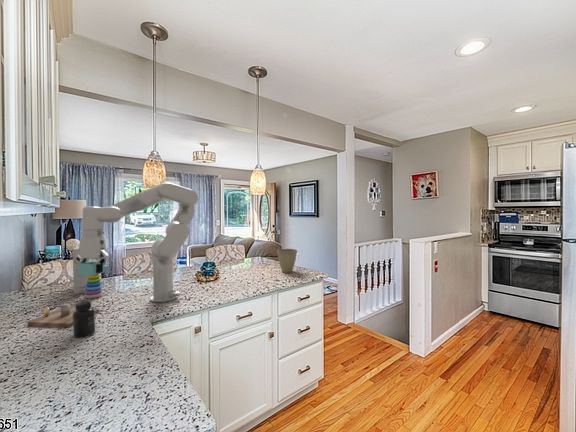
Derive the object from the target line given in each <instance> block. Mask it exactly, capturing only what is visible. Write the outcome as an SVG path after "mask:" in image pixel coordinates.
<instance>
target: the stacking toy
mask: <svg viewBox="0 0 576 432" xmlns="http://www.w3.org/2000/svg"><path fill="white" fill-rule="evenodd" d="M87 278H88V280H87V282H88V283H87V284H86V286H87V287H86V291H85V293H84V298H85V299H88V300H89V299H97V298H100V297H102V296H103V292H102V291H103V289H102V285H101V284H102V282H101V275H100V274H97V275H94V276H88V277H87Z"/></svg>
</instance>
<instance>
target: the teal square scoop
mask: <svg viewBox="0 0 576 432" xmlns="http://www.w3.org/2000/svg"><path fill="white" fill-rule="evenodd" d="M105 263H106V261H105V262H104V263H103V272H101V273H96V265H97V261H89V262H84V263H80V264H78V275H86V276H94V275H97V274H99V275H100V274H103V273H105V271H108V270H109V267H110V266H109V265H107V264H105Z"/></svg>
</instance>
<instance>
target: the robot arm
mask: <svg viewBox="0 0 576 432" xmlns="http://www.w3.org/2000/svg"><path fill="white" fill-rule="evenodd" d="M166 200H169V201H173V202H174V203H175V202H176V203H178V210H177V212H176V214H175V215H174V217H173V218H172V220H170V222H169V223H168V225H167V226H166V227H165V236H164V238H158V239H156V240H155V241H154V242H153V244H152V245H151V257H152V258H151V259H152V284H153V286H152V292H153V293H152V294H153V295H152V296H151V297H149V301H150V302H152V303H166V302H170V301H173V300H175V299H176V298H177V297H180V295H181V292H180V291H176V288H174V262H173V258H174V257H175V256H176V255H177V253H179V251H180V250H181V248H182V247H183V245H184V244H185V243H186V241H187V239H188V237H189V236H190V235H189V234H190V229H189V225H190V224H191V222H192V220H193V219H194V216H195V214H196V213H195V212H196V211H195V210H196V209H195V205H196V204H197V203H198V202H199V194H198V192H197V191H196V190H194V189H191V188H188V187H185V186H181V185H179V184H175V183H172V182H163V183H159V184H156V185H154V186H151V187H150V188H148V189H145V190H143V191H140V192H139V193H136V194H134V195H132V196H130V197H128V198H125V199H123V200H120V201H119V202H116V203H114V204H111V205H109V206H102V207H101V206H89V205H87V206H84V207H83V208H82V214H81V215H82V217H81V219H82V220H81V224H82V225H81V236H80V238H79V244H78V246H79V251H78V252H77V253H75V254H74V255H75V257H76V258H77V260H78V261H79V264H80V263H84V262H86V261H87V259H88V258H89V259H96V261H97V265H96V273H101V272H103V263H104V262H105V263H106V261H107V260H108V258H110V255H109V253H107V249H106V240H105V239H106V238H105V237H104V233H105V231H103V222H104V223H111V224H112V223H114V224H115V223H118V222H119V221H121V220H122V218H124V217H126V216H129V215H131V214H133V213H137V212H141V211H145V210H147V209H150V208H151V207H153V206H155V205H158V204H159V203H160V204H161V203H162V202H165V201H166ZM101 274H102V273H101Z"/></svg>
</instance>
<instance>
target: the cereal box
mask: <svg viewBox="0 0 576 432" xmlns="http://www.w3.org/2000/svg"><path fill="white" fill-rule="evenodd" d="M78 251H79V245H78V246H76V247H74V248H73V249H72V275H73V278H72V279H73V281H72V282H73V294H83V293H84V294H85V291H86V287H87V286H86V284H87V283H88V282H87V280H88V278H87V277H88V276H86V275H78V264H79V261H78V260H77V258H76V257H75V255H74V254H75V253H77V252H78ZM89 261H96V259H89V258H88V259H87V261H86V262H89Z"/></svg>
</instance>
